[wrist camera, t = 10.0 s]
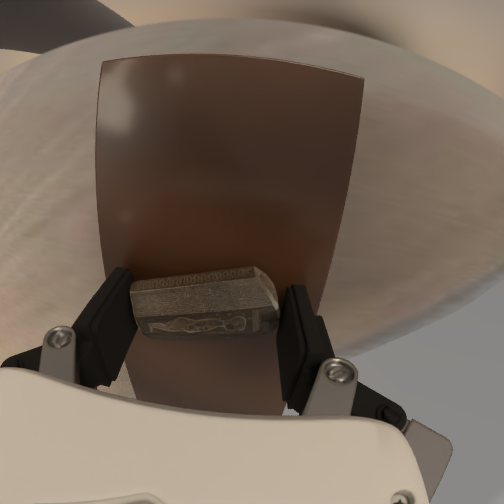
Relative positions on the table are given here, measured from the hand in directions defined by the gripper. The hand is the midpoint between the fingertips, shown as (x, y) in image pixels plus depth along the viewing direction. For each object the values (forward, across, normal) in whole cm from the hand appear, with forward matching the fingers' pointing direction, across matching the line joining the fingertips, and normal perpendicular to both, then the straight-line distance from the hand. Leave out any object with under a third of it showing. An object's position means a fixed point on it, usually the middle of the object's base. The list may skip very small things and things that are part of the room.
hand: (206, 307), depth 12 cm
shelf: (+10, 0, 0) cm, 10 cm away
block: (+1, 0, 0) cm, 1 cm away
